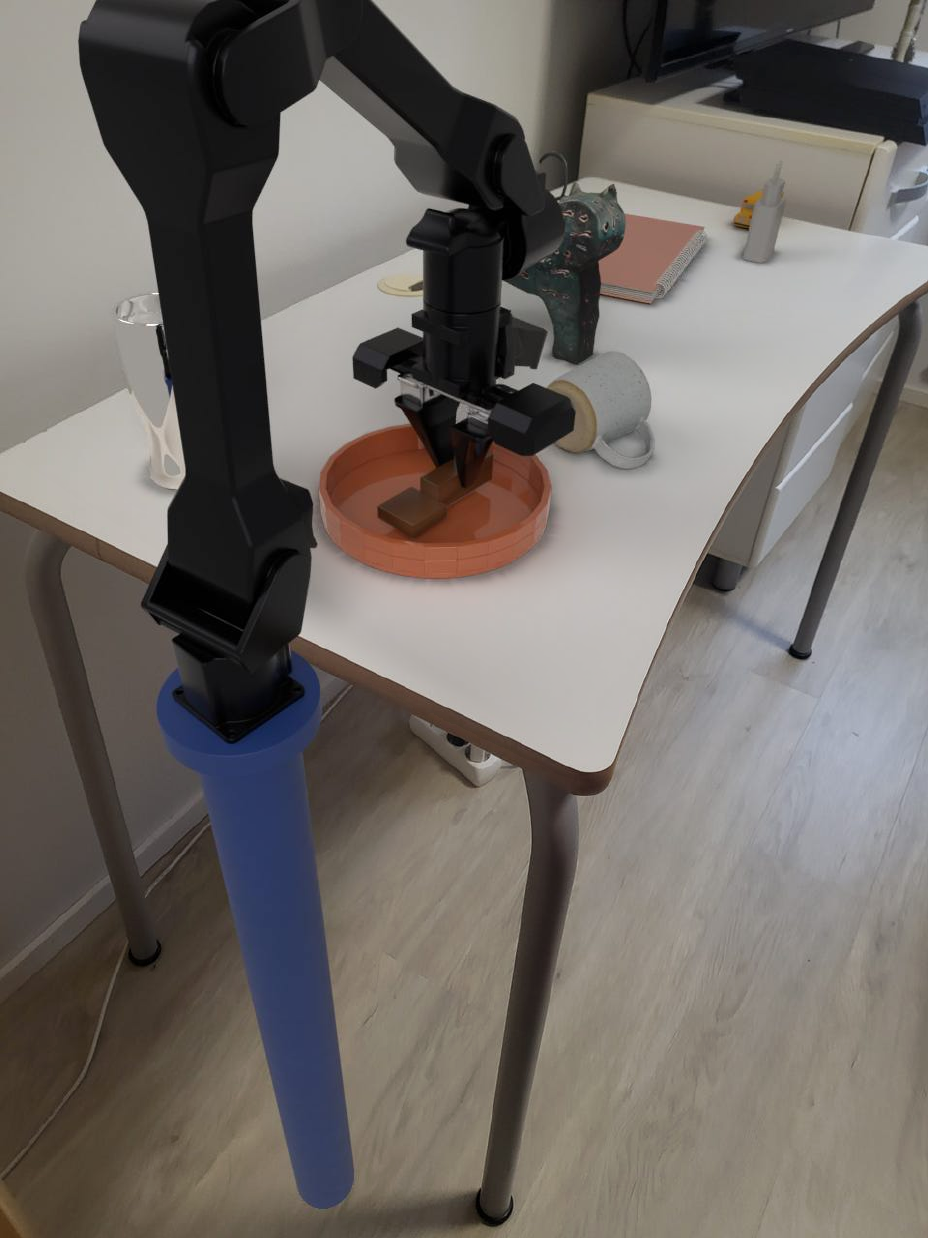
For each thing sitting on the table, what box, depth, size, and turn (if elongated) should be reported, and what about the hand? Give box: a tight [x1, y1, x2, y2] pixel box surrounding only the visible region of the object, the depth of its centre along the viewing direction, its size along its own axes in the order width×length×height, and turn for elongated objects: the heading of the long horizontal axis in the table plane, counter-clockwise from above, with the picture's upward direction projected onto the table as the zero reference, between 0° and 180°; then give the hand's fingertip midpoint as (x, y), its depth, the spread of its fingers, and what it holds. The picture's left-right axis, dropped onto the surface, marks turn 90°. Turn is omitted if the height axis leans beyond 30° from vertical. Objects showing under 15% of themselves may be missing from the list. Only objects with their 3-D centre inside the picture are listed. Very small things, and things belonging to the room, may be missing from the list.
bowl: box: [318, 423, 553, 579], centre depth 79 cm, size 19×19×3 cm
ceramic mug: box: [546, 350, 656, 470], centre depth 86 cm, size 11×8×8 cm
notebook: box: [599, 212, 708, 304], centre depth 126 cm, size 27×17×2 cm, turn 156°
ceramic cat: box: [466, 150, 626, 365], centre depth 100 cm, size 20×6×20 cm, turn 51°
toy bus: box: [732, 188, 785, 229], centre depth 140 cm, size 3×10×4 cm, turn 140°
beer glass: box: [111, 291, 185, 491], centre depth 78 cm, size 7×7×15 cm
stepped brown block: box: [377, 452, 493, 538], centre depth 77 cm, size 4×11×2 cm, turn 139°
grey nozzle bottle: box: [742, 160, 787, 264], centre depth 126 cm, size 3×5×12 cm, turn 150°
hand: (456, 480), depth 79 cm, fingers closed on stepped brown block, 2 cm apart
